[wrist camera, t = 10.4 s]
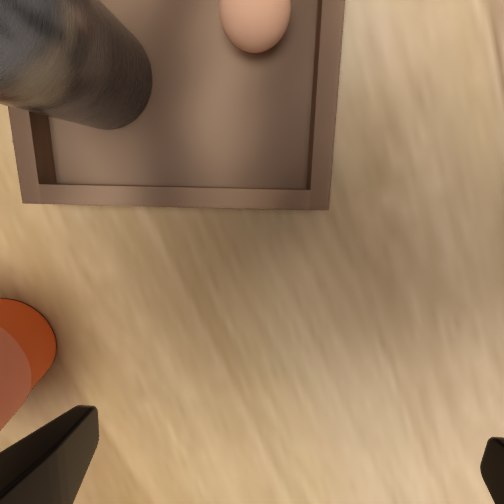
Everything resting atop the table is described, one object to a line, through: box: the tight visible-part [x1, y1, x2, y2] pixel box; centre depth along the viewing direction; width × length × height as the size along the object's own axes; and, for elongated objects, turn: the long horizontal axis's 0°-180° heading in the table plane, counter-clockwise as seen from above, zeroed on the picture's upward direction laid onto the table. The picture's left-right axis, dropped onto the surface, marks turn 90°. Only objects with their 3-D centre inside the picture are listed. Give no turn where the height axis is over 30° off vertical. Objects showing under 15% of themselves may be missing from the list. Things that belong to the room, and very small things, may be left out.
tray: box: [8, 0, 345, 210], centre depth 16 cm, size 16×14×2 cm
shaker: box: [0, 0, 152, 130], centre depth 10 cm, size 5×5×13 cm
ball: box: [219, 0, 291, 53], centre depth 14 cm, size 3×3×3 cm
